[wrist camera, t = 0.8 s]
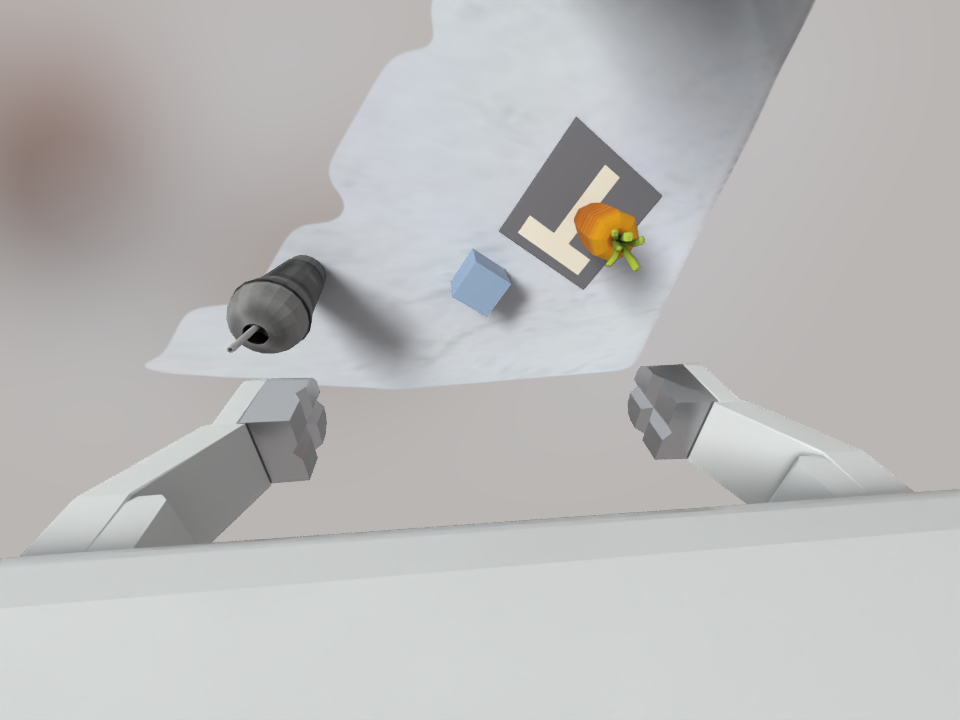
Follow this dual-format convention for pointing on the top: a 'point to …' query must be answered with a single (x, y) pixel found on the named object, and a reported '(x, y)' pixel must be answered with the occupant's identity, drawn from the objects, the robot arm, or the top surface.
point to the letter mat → (575, 202)
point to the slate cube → (480, 283)
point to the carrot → (608, 233)
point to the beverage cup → (276, 306)
